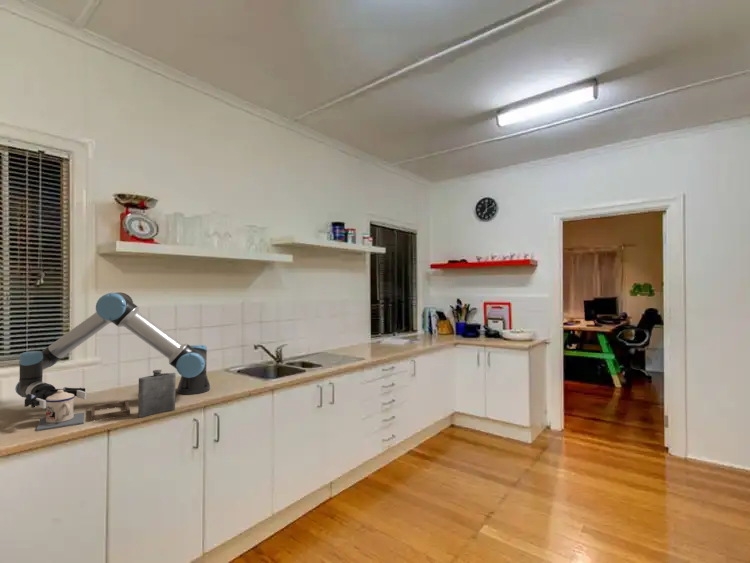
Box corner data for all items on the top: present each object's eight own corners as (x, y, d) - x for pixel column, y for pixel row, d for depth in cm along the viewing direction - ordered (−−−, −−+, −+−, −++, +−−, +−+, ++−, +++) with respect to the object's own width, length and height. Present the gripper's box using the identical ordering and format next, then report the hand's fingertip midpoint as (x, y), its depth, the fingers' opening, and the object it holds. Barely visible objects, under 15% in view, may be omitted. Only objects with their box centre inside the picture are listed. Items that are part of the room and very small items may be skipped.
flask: (136, 416, 165) (136, 372, 165) (172, 408, 176) (173, 367, 176) (139, 418, 163) (140, 373, 163) (176, 410, 173) (176, 368, 174)
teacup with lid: (41, 420, 157) (41, 390, 157) (68, 414, 165) (68, 385, 165) (54, 426, 151) (54, 395, 151) (82, 419, 158) (82, 390, 158)
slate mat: (84, 413, 167) (84, 412, 167) (83, 423, 156) (83, 422, 156) (40, 420, 159) (40, 418, 159) (36, 431, 148) (36, 429, 148)
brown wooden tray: (127, 405, 179) (127, 400, 179) (129, 415, 166) (130, 410, 166) (91, 410, 172) (91, 405, 172) (91, 421, 159) (91, 416, 159)
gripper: (75, 394, 177) (101, 401, 167) (1, 409, 156) (25, 419, 145) (75, 377, 177) (101, 383, 167) (2, 389, 156) (25, 398, 145)
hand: (66, 400), depth 156 cm, fingers open, 13 cm apart
